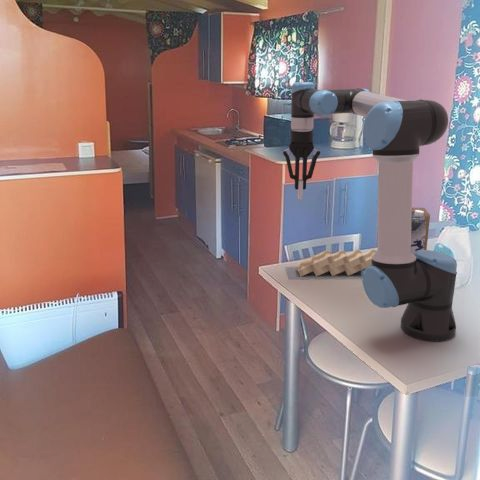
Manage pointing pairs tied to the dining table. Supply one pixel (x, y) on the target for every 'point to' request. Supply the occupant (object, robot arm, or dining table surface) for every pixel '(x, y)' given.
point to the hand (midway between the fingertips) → (299, 198)
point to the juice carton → (418, 230)
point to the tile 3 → (354, 259)
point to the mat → (294, 274)
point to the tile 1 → (314, 263)
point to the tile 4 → (363, 265)
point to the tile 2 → (338, 259)
